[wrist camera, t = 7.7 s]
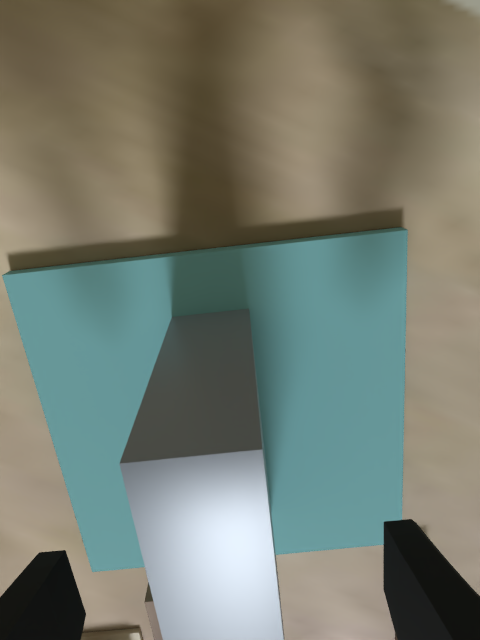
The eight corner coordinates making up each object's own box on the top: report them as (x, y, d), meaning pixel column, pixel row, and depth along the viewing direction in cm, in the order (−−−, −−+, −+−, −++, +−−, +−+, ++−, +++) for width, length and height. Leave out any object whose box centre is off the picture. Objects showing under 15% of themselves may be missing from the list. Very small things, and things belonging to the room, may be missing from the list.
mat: (401, 227, 14) (407, 230, 13) (397, 532, 18) (401, 542, 18) (9, 270, 14) (2, 275, 14) (96, 561, 18) (92, 571, 18)
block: (249, 308, 14) (262, 449, 8) (271, 511, 17) (295, 741, 10) (172, 317, 14) (119, 463, 8) (206, 517, 17) (190, 750, 11)
